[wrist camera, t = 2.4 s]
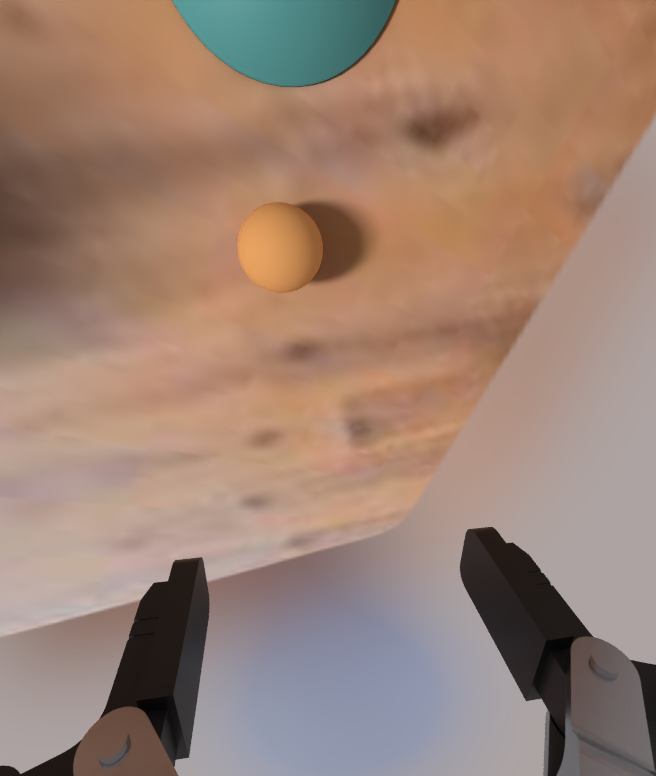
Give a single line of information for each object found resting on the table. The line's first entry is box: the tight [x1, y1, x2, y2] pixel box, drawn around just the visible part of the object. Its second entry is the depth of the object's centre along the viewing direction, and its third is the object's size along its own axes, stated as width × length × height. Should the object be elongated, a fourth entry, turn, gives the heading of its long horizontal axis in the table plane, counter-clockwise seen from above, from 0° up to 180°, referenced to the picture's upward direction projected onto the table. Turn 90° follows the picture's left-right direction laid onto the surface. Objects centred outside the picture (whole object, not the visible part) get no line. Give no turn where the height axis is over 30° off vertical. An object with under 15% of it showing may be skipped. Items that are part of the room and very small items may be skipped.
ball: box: [237, 203, 323, 293], centre depth 23 cm, size 5×5×5 cm
